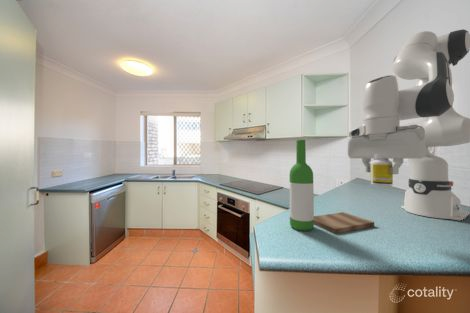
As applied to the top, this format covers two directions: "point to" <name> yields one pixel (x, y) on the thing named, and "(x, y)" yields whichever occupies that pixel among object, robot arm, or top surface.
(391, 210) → the top surface
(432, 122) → the robot arm
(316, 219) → the walnut board
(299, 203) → the wine bottle
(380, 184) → the supplement bottle
